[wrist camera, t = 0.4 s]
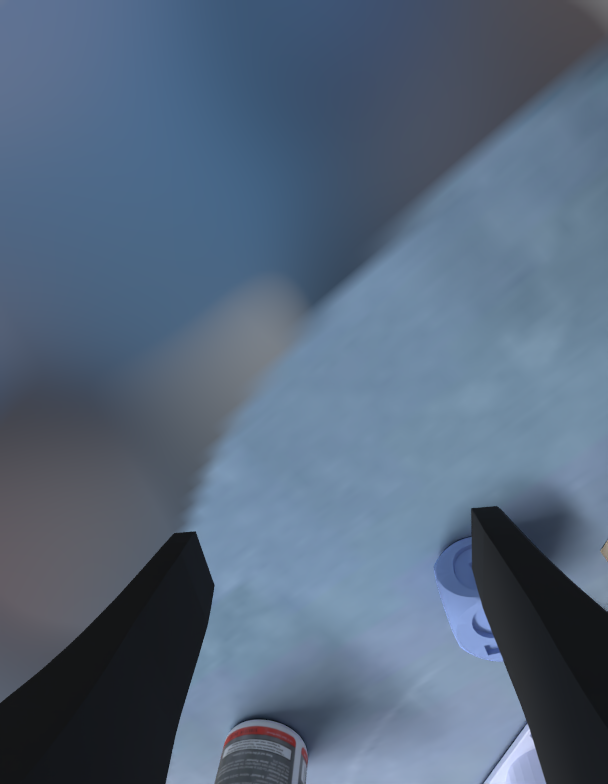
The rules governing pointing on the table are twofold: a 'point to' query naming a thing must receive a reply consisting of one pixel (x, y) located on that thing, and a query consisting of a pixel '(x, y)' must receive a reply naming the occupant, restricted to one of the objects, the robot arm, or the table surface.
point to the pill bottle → (262, 755)
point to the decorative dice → (464, 601)
